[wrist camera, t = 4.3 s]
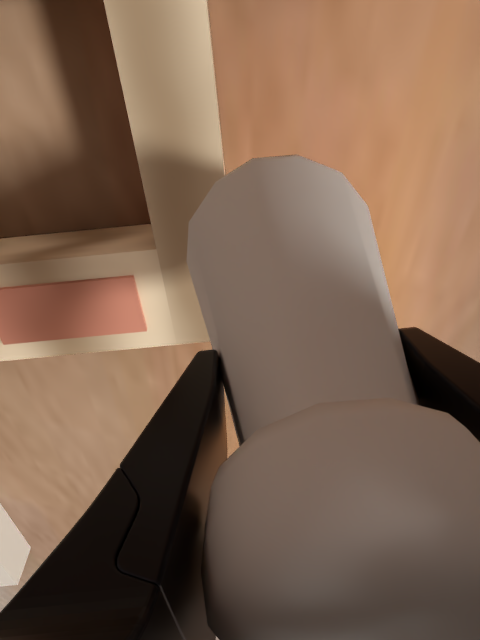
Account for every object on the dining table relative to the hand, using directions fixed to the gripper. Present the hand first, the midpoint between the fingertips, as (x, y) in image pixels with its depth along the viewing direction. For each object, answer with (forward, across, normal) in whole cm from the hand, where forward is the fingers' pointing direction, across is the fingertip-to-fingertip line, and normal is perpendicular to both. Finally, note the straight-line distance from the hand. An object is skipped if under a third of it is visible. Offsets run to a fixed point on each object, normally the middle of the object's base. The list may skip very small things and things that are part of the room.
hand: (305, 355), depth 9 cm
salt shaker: (+8, 0, 0) cm, 8 cm away
